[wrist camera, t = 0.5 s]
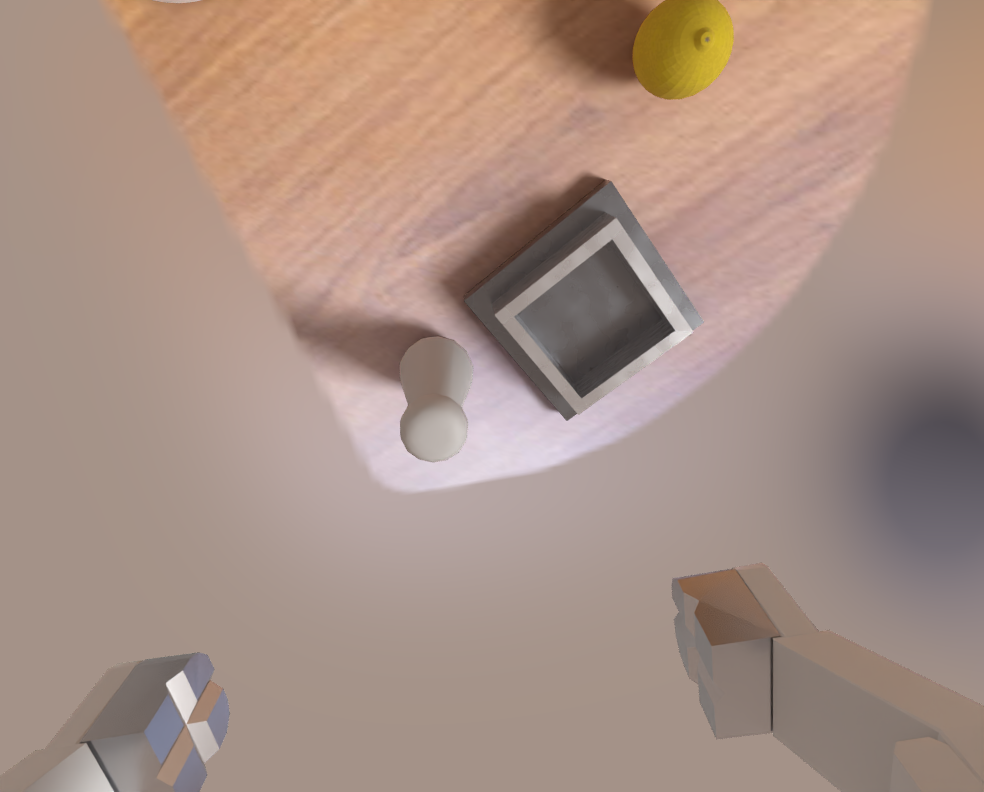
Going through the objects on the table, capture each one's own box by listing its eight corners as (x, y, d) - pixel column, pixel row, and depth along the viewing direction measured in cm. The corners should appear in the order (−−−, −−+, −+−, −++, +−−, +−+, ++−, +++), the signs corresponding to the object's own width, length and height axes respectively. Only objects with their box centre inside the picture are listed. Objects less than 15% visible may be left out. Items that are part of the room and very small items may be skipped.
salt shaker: (409, 397, 48) (396, 484, 36) (394, 334, 45) (375, 405, 33) (477, 386, 48) (486, 469, 36) (466, 322, 45) (472, 389, 33)
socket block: (463, 296, 44) (464, 312, 40) (605, 179, 41) (622, 184, 37) (563, 413, 49) (573, 438, 45) (696, 316, 46) (720, 334, 42)
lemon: (609, 94, 39) (645, 85, 32) (631, -1, 37) (675, -34, 29) (684, 109, 40) (736, 104, 32) (710, 17, 37) (772, -10, 30)
